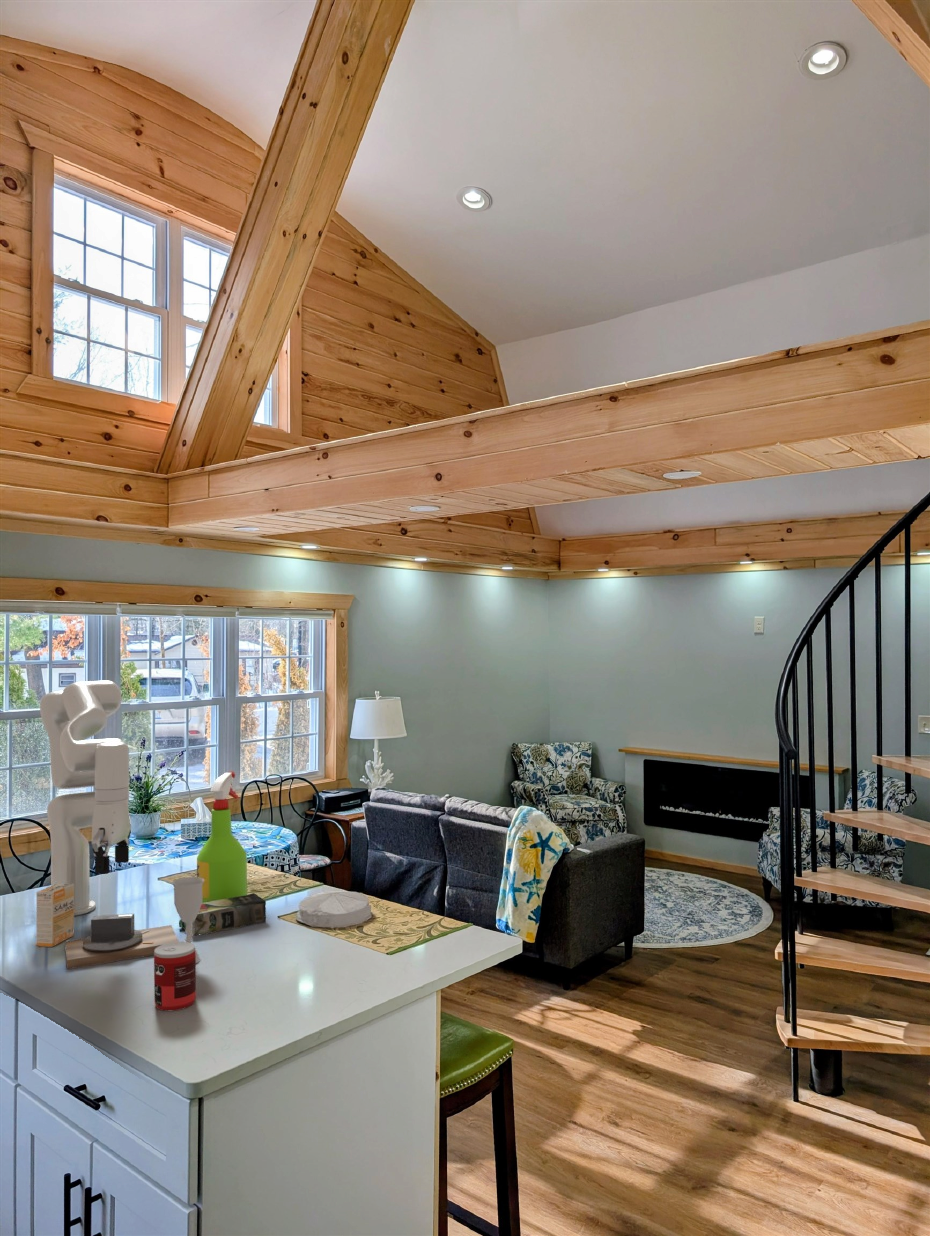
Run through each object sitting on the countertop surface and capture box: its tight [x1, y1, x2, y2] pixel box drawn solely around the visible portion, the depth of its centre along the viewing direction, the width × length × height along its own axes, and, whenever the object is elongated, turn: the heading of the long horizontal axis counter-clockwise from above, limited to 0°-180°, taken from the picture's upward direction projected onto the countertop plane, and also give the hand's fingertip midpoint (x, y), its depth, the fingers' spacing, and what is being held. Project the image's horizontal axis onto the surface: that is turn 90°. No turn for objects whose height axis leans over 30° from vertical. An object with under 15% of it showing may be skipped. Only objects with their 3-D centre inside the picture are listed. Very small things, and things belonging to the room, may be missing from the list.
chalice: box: [171, 876, 204, 964], centre depth 197 cm, size 7×7×18 cm
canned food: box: [153, 941, 197, 1011], centre depth 174 cm, size 8×8×11 cm
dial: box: [83, 913, 142, 952], centre depth 204 cm, size 13×13×6 cm
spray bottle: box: [196, 770, 248, 903], centre depth 247 cm, size 14×18×35 cm
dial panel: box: [65, 924, 180, 970], centre depth 205 cm, size 14×24×2 cm, turn 116°
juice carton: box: [178, 892, 267, 937], centre depth 222 cm, size 20×10×6 cm, turn 123°
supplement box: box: [35, 883, 75, 948], centre depth 212 cm, size 8×5×13 cm, turn 168°
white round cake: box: [295, 890, 373, 929], centre depth 228 cm, size 20×20×7 cm
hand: (112, 867), depth 204 cm, fingers open, 9 cm apart
